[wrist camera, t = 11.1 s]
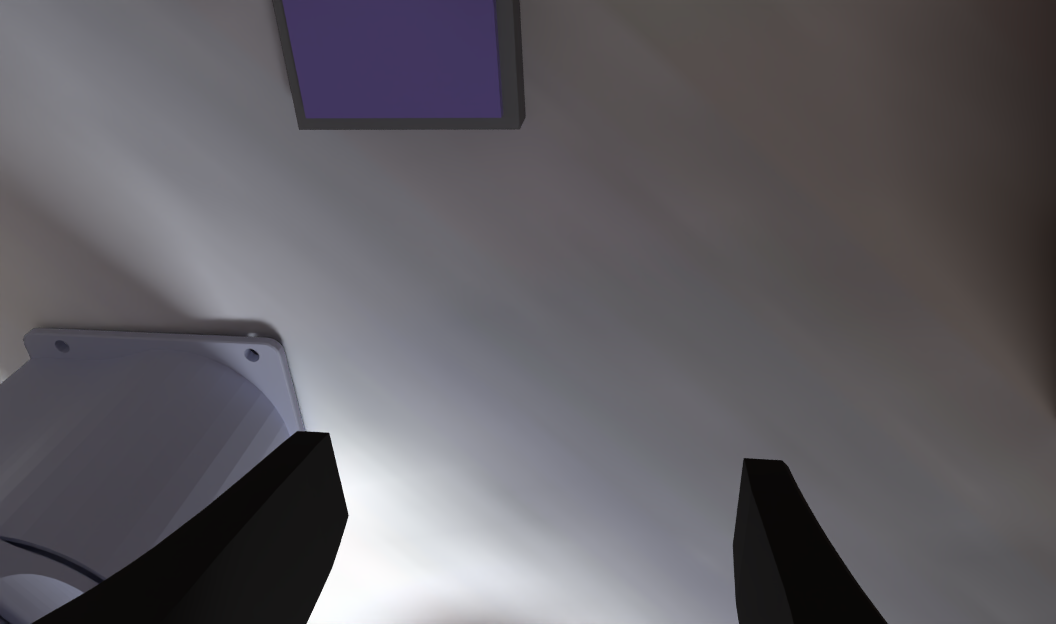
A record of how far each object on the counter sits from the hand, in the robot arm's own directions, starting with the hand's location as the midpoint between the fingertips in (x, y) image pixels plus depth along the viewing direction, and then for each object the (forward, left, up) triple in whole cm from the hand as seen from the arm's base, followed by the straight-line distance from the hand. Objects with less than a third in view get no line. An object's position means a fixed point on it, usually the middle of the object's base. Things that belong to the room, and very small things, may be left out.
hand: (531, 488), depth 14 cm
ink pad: (-4, +6, -10) cm, 13 cm away
